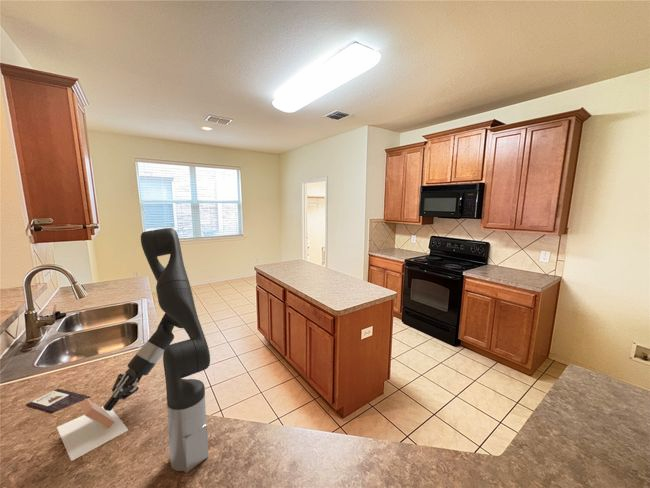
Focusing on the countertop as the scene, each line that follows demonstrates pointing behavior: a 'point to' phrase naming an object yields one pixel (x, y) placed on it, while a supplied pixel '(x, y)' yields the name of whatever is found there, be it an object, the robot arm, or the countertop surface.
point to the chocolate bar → (57, 400)
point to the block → (96, 413)
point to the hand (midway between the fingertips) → (106, 409)
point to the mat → (88, 434)
